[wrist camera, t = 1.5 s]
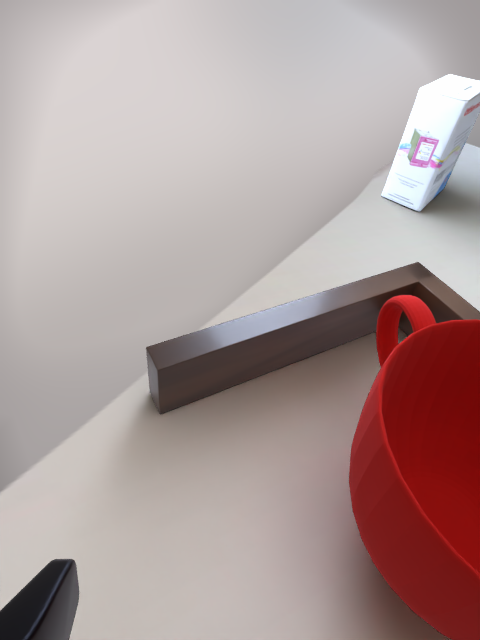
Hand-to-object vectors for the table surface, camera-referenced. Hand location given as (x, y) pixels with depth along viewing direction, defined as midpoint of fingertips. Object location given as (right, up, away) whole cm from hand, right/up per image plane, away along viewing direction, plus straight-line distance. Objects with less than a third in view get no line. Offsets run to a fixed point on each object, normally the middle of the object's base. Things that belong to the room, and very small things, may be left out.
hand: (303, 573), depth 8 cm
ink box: (+19, +20, +42) cm, 50 cm away
